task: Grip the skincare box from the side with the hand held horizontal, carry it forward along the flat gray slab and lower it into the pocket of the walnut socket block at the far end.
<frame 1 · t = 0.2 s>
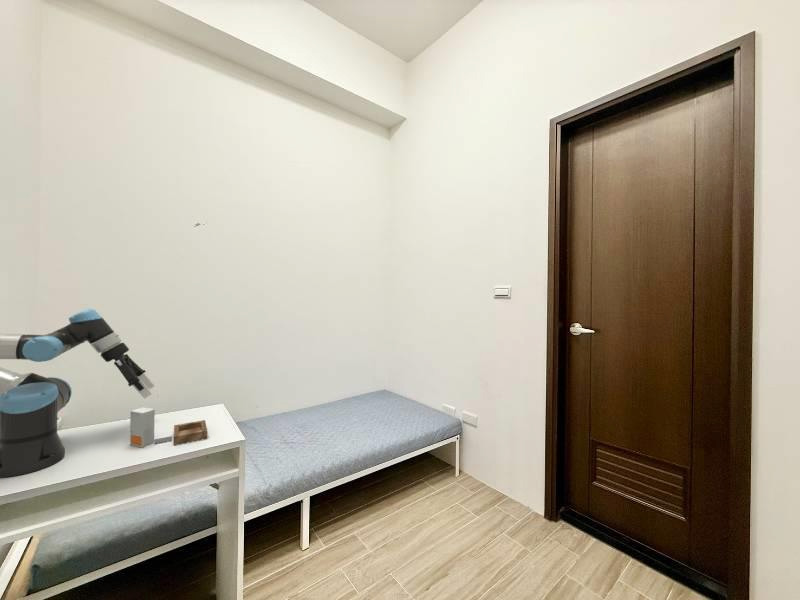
hand: (150, 392, 124), 15 cm above the table, tool tilted 35°, fingers open, 13 cm apart
flat gray slab: (163, 440, 115), on the table
socket block: (190, 435, 119), on the table
skincare box: (142, 444, 112), on the table
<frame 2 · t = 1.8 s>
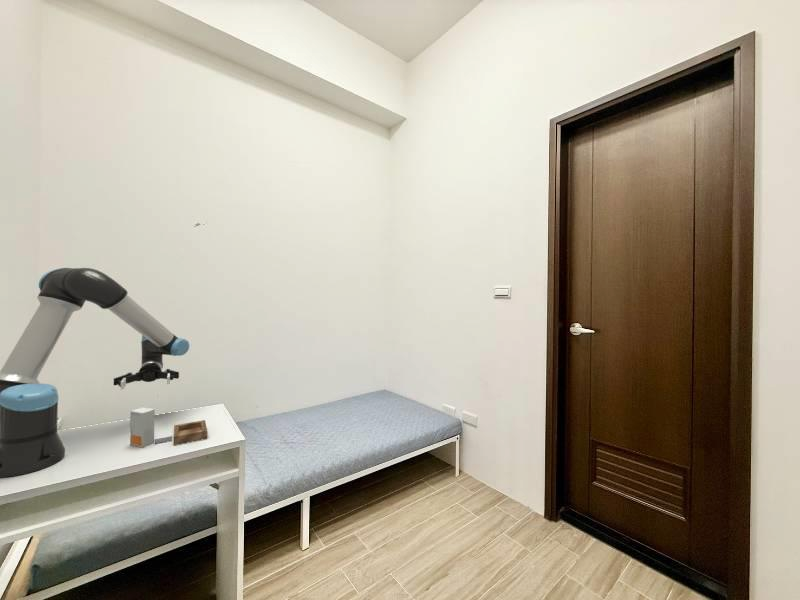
hand: (145, 382, 120), 19 cm above the table, tool horizontal, fingers open, 13 cm apart
nothing on the table moved.
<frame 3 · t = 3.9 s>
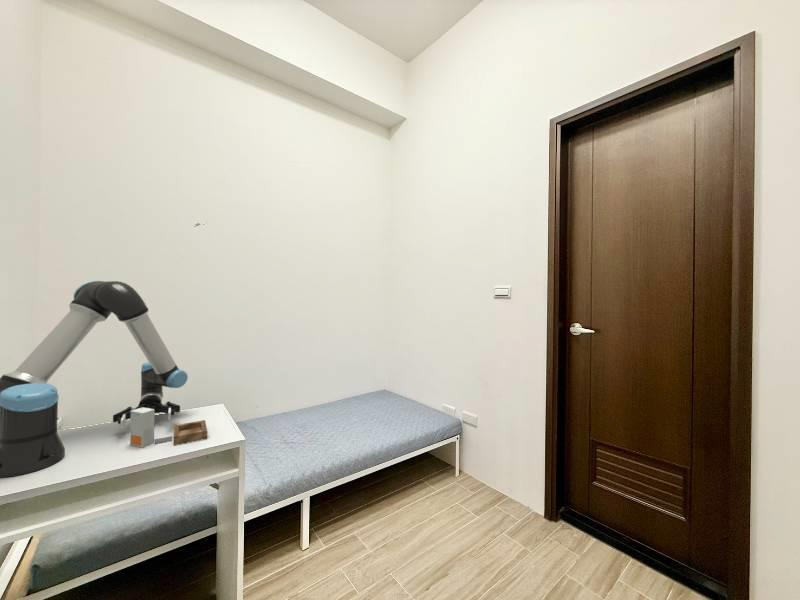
hand: (146, 420, 117), 6 cm above the table, tool horizontal, fingers open, 13 cm apart
nothing on the table moved.
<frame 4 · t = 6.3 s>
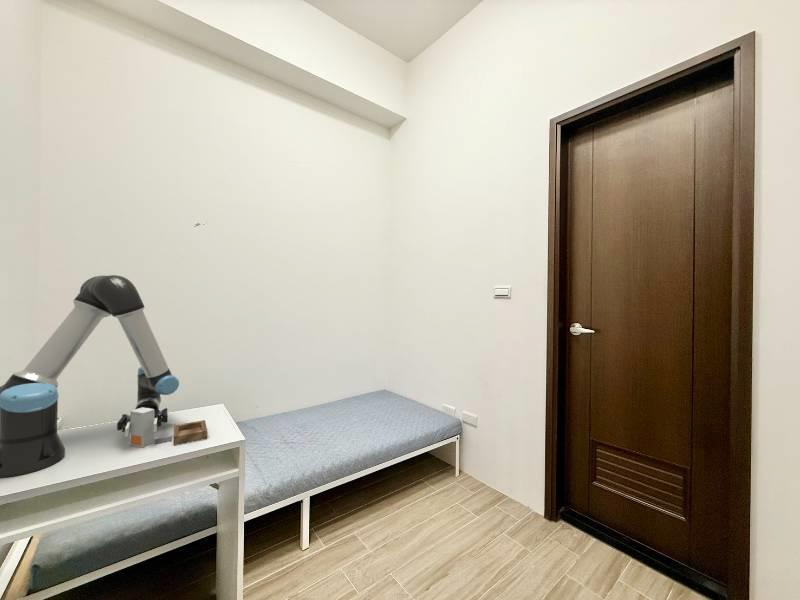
hand: (141, 430, 108), 7 cm above the table, tool horizontal, fingers closed on skincare box, 7 cm apart
skincare box: (142, 444, 112), on the table, touching gripper
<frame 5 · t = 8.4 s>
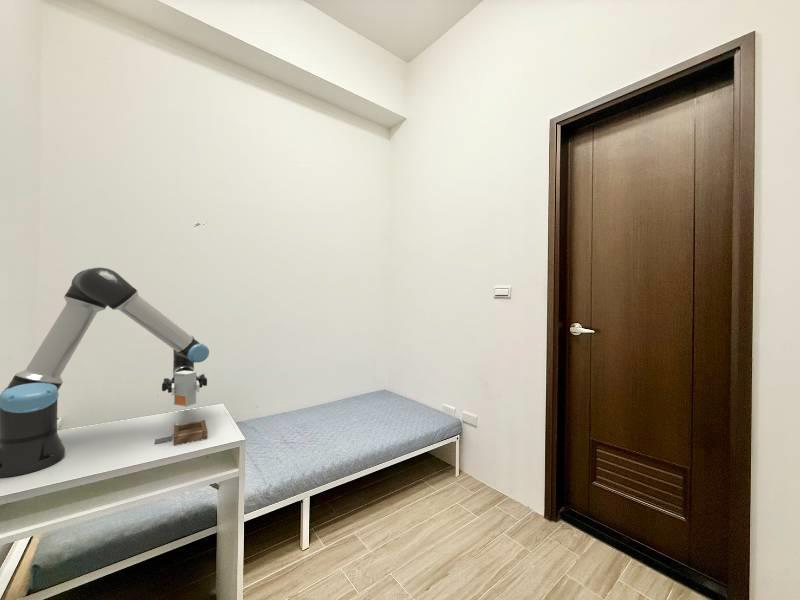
hand: (185, 389, 115), 18 cm above the table, tool horizontal, fingers closed on skincare box, 7 cm apart
skincare box: (185, 404, 119), point 12 cm above the table, touching gripper
when the fingers open (9 cm above the table, at t = 11.1 s): skincare box drops 1 cm, resting on socket block.
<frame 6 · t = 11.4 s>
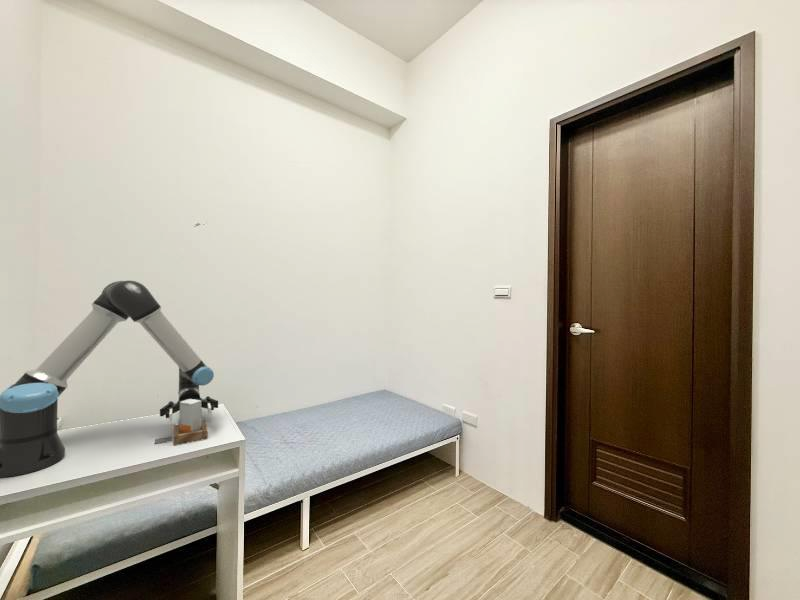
hand: (190, 414, 116), 9 cm above the table, tool horizontal, fingers open, 11 cm apart
skincare box: (190, 433, 119), point 1 cm above the table, touching socket block
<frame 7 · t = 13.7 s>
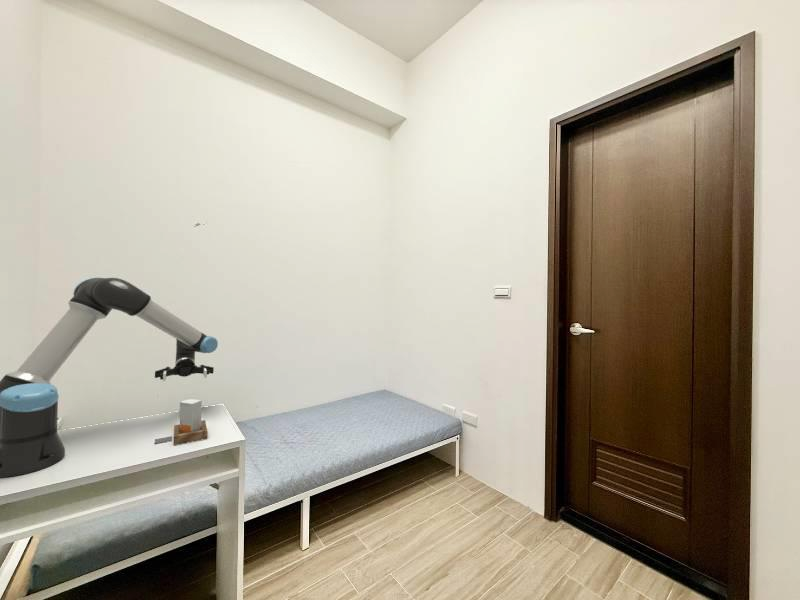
hand: (185, 375, 127), 20 cm above the table, tool horizontal, fingers open, 13 cm apart
nothing on the table moved.
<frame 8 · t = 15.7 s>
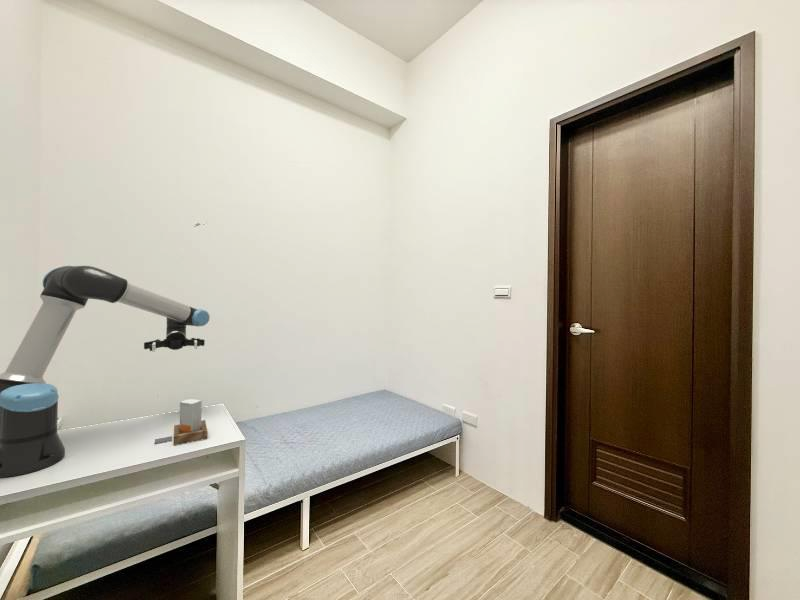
hand: (175, 346, 125), 32 cm above the table, tool horizontal, fingers open, 13 cm apart
nothing on the table moved.
at the end: skincare box inside the target area on the socket block (0.1 cm from its centre), point 0.8 cm above the socket block's base; skincare box tilted 0°; the gripper is holding nothing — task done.
